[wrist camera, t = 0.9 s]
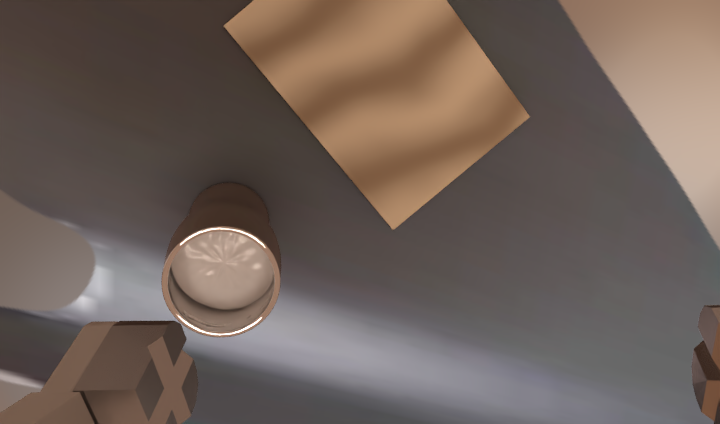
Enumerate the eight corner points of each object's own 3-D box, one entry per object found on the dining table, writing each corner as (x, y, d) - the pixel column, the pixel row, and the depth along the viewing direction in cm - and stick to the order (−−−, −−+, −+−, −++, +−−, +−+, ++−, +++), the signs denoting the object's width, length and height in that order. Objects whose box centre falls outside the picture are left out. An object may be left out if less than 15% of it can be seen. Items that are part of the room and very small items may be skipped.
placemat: (223, 26, 50) (223, 25, 49) (372, -100, 49) (374, -102, 49) (391, 228, 55) (393, 230, 55) (527, 116, 55) (529, 116, 54)
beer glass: (219, 157, 52) (208, 197, 37) (293, 212, 54) (309, 270, 39) (163, 229, 52) (131, 296, 38) (238, 281, 54) (234, 363, 40)
